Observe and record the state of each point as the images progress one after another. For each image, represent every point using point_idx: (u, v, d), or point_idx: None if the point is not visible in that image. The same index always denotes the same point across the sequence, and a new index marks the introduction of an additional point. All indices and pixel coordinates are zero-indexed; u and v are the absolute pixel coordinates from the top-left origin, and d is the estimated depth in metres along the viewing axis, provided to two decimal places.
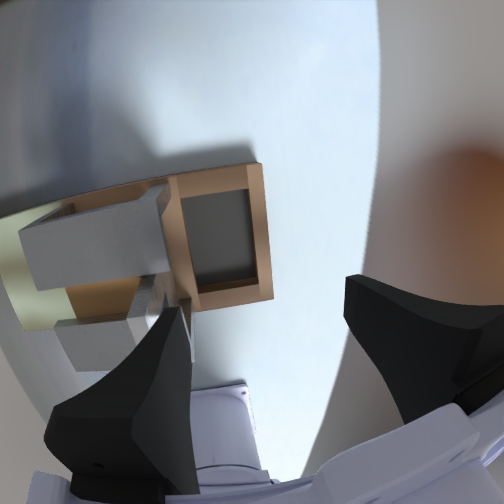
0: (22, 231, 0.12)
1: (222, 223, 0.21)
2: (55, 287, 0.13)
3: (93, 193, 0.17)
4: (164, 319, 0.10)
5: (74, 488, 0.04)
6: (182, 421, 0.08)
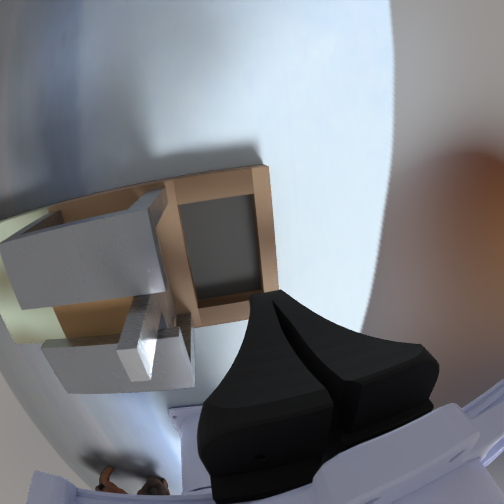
0: (2, 244, 0.10)
1: (224, 232, 0.19)
2: (40, 306, 0.11)
3: (82, 199, 0.15)
4: (261, 304, 0.10)
5: (217, 493, 0.04)
6: None
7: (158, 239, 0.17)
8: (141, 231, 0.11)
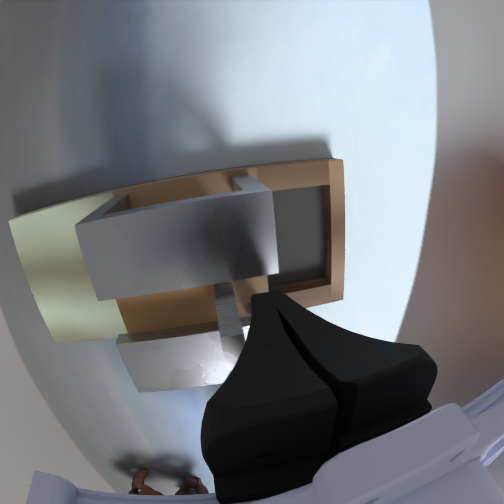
0: (82, 225, 0.10)
1: (297, 221, 0.19)
2: (125, 296, 0.12)
3: (155, 183, 0.16)
4: (263, 303, 0.10)
5: (221, 493, 0.04)
6: None
7: None
8: (263, 211, 0.11)
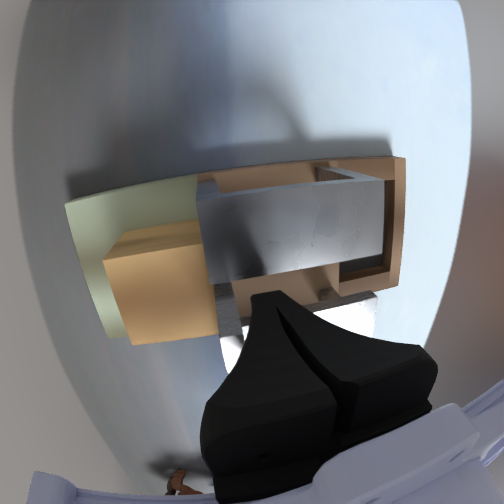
0: (205, 202, 0.11)
1: None
2: (242, 277, 0.12)
3: (243, 169, 0.16)
4: (263, 303, 0.10)
5: (220, 493, 0.04)
6: None
7: None
8: (376, 198, 0.12)
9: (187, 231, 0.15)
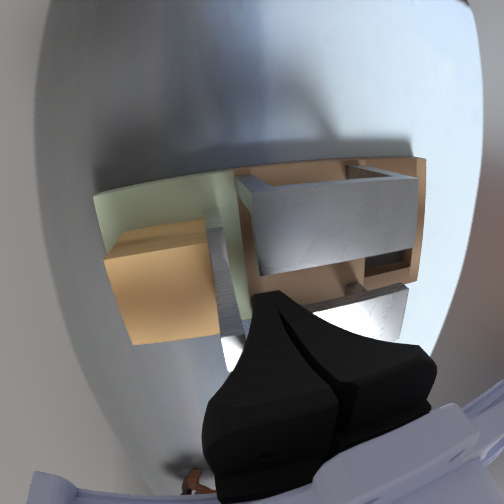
0: (261, 194, 0.11)
1: None
2: (291, 269, 0.12)
3: (279, 166, 0.17)
4: (264, 303, 0.10)
5: (222, 492, 0.04)
6: None
7: None
8: (412, 195, 0.12)
9: (188, 231, 0.15)
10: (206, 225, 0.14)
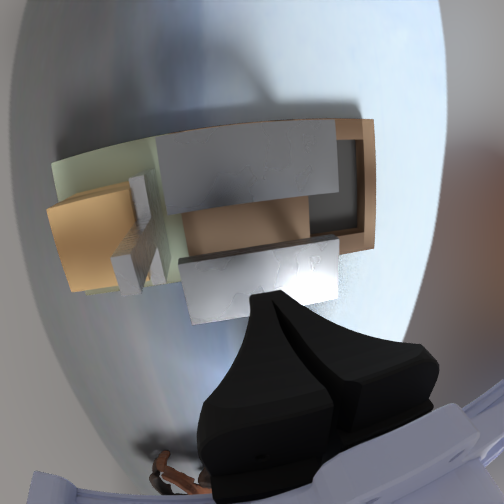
0: (163, 137, 0.11)
1: None
2: (197, 208, 0.13)
3: (212, 127, 0.17)
4: (261, 304, 0.10)
5: (217, 493, 0.04)
6: None
7: (157, 187, 0.17)
8: (328, 136, 0.12)
9: (122, 185, 0.15)
10: (132, 176, 0.14)
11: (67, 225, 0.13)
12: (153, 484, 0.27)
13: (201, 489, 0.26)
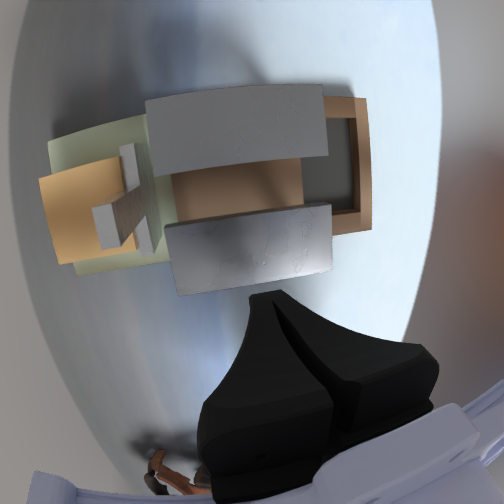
0: (152, 100, 0.11)
1: None
2: (184, 170, 0.12)
3: None
4: (261, 304, 0.10)
5: (217, 493, 0.04)
6: None
7: (149, 162, 0.17)
8: (315, 100, 0.12)
9: None
10: None
11: (57, 194, 0.13)
12: (148, 484, 0.26)
13: (197, 490, 0.25)
